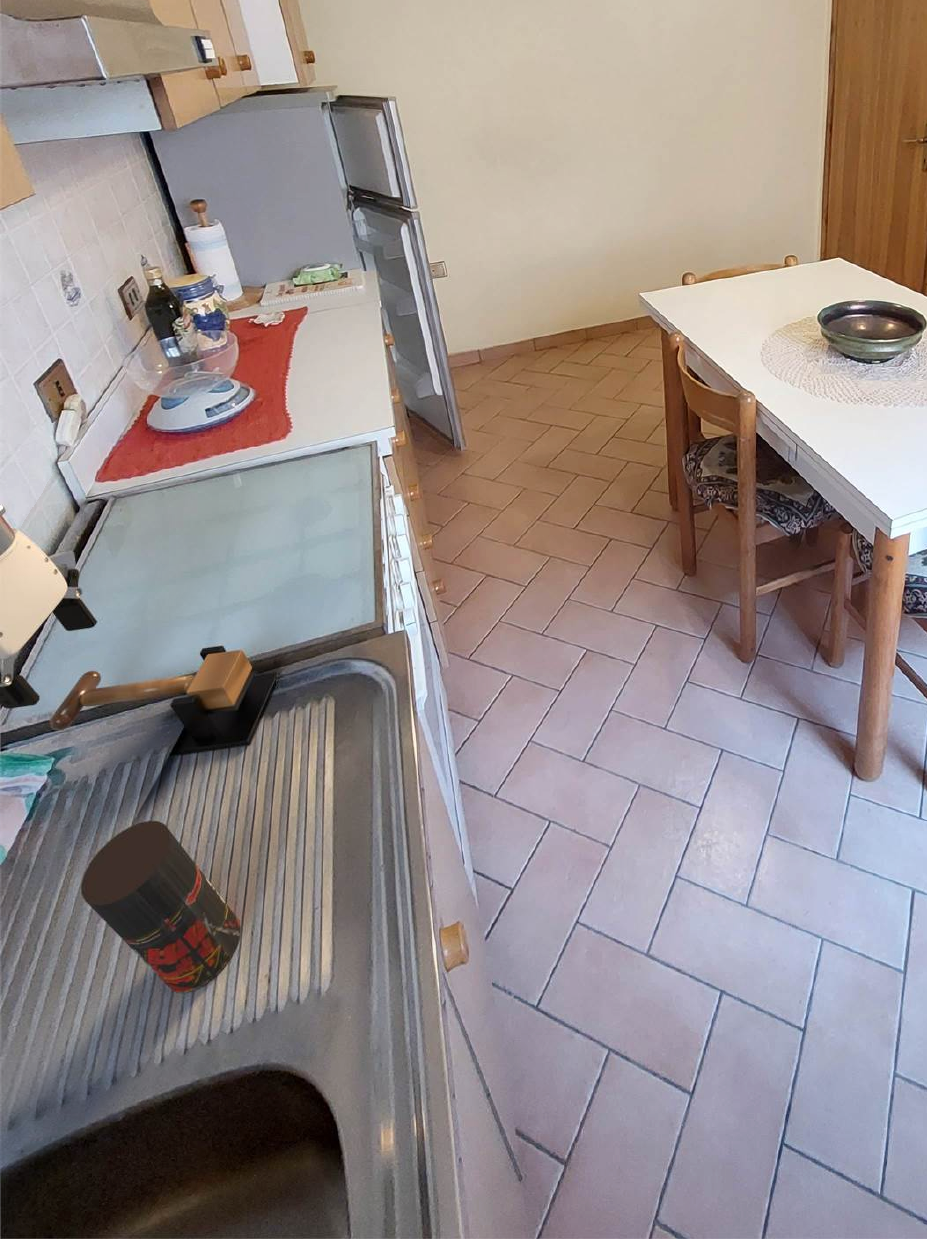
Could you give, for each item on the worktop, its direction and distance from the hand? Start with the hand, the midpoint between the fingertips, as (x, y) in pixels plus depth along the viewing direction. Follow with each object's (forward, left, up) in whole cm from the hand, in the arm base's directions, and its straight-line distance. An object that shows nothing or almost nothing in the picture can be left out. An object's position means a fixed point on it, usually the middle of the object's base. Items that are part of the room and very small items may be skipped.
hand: (55, 663), depth 76 cm
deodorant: (+23, -24, -12) cm, 35 cm away
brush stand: (+14, 0, -12) cm, 18 cm away
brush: (+8, 0, -9) cm, 12 cm away
